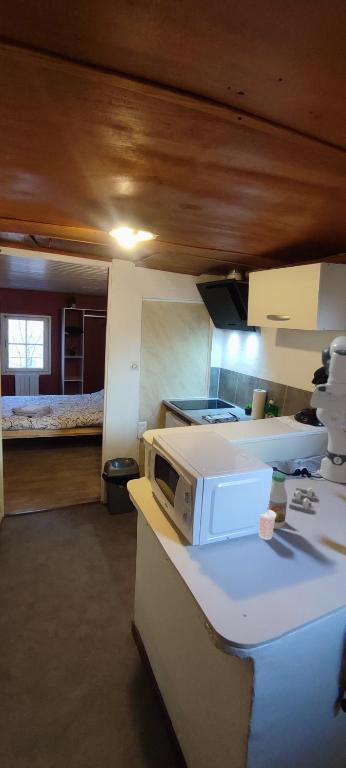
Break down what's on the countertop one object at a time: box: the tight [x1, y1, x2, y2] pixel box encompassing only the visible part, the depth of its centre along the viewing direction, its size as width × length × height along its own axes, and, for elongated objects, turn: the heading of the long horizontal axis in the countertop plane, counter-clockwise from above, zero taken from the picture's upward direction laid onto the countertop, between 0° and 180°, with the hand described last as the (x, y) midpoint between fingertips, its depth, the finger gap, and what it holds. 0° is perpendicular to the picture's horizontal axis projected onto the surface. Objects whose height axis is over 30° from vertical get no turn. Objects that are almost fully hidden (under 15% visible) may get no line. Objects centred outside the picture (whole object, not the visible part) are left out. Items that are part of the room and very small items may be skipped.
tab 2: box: [302, 498, 310, 509], centre depth 151 cm, size 3×2×4 cm, turn 153°
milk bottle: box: [269, 472, 288, 530], centre depth 138 cm, size 8×8×20 cm
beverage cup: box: [258, 500, 276, 541], centre depth 131 cm, size 6×6×14 cm
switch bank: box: [288, 487, 316, 514], centre depth 158 cm, size 24×9×2 cm, turn 153°
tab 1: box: [294, 490, 302, 500], centre depth 158 cm, size 3×2×4 cm, turn 153°
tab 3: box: [306, 486, 314, 497], centre depth 162 cm, size 3×2×4 cm, turn 152°
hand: (333, 420), depth 155 cm, fingers closed
